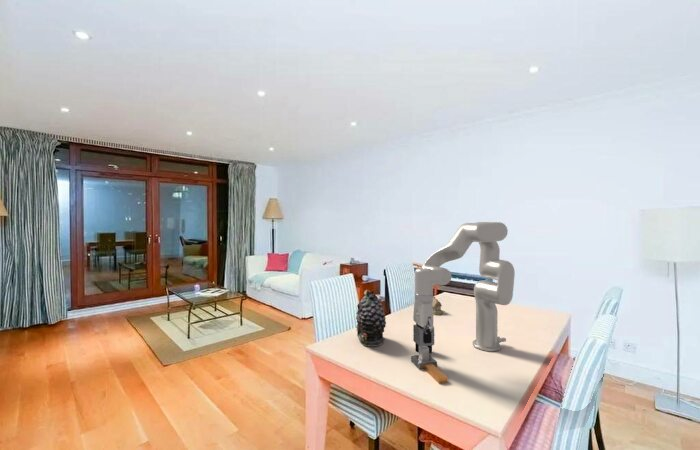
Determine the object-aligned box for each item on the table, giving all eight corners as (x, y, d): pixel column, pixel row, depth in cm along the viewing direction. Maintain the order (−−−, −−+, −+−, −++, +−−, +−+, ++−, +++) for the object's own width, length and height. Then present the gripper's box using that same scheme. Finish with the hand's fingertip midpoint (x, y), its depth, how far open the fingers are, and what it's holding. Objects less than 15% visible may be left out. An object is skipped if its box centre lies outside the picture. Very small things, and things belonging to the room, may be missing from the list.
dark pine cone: (351, 334, 171) (350, 288, 171) (377, 332, 175) (377, 286, 174) (362, 350, 151) (361, 297, 151) (392, 346, 155) (391, 295, 154)
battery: (429, 354, 146) (429, 333, 145) (415, 351, 149) (415, 330, 149) (432, 351, 149) (432, 330, 149) (418, 348, 153) (418, 327, 153)
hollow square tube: (427, 339, 140) (427, 323, 140) (434, 345, 133) (434, 328, 133) (413, 340, 138) (413, 324, 138) (420, 346, 132) (420, 329, 132)
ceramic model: (421, 310, 217) (421, 295, 217) (435, 308, 221) (435, 294, 220) (433, 316, 204) (433, 300, 203) (447, 314, 207) (447, 298, 207)
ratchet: (452, 381, 121) (452, 362, 121) (433, 384, 120) (433, 364, 119) (427, 359, 141) (427, 342, 141) (411, 361, 139) (411, 344, 139)
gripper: (407, 293, 143) (407, 333, 143) (425, 303, 126) (425, 348, 127) (422, 292, 145) (422, 332, 145) (442, 302, 128) (442, 346, 128)
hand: (423, 339), depth 136 cm, fingers closed on hollow square tube, 6 cm apart
